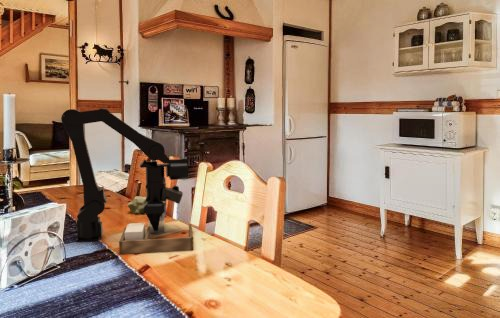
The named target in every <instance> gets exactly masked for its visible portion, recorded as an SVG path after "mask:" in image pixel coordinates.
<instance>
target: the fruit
mask: <svg viewBox="0 0 500 318" xmlns="http://www.w3.org/2000/svg"><path fill="white" fill-rule="evenodd" d="M146 197H147V196H141V195H139V196H138V195H137V196H134V198H133V199H132V201H130V202H128V203H127V207H128V208H129V211H130V213H132V214H134V215H136V214H139V215H144V214H145V213H144V205H145V204H146V203H147V202H146ZM149 202H150V201H149ZM145 215H146V214H145Z"/></svg>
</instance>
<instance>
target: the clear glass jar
mask: <svg viewBox="0 0 500 318" xmlns="http://www.w3.org/2000/svg"><path fill="white" fill-rule="evenodd" d="M147 221H148V223H147V224H148V226H147V228H148V227H149V226H150V235H162V234H163V233H165V232H166V231H165V225H166V224H165V222H166V221H165V217H164V213H163V214H162V215H161V216H160V221H159V227H158V231H154V229H153V227H152V225H151V223H150V221H149V219H147Z"/></svg>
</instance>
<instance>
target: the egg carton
mask: <svg viewBox="0 0 500 318" xmlns="http://www.w3.org/2000/svg"><path fill="white" fill-rule="evenodd" d="M145 223H146V222H138V223H137V222H133V223H128V224H127V225H126V227H127V228H126V230H125V241H127V240H145V236H146V224H145Z"/></svg>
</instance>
